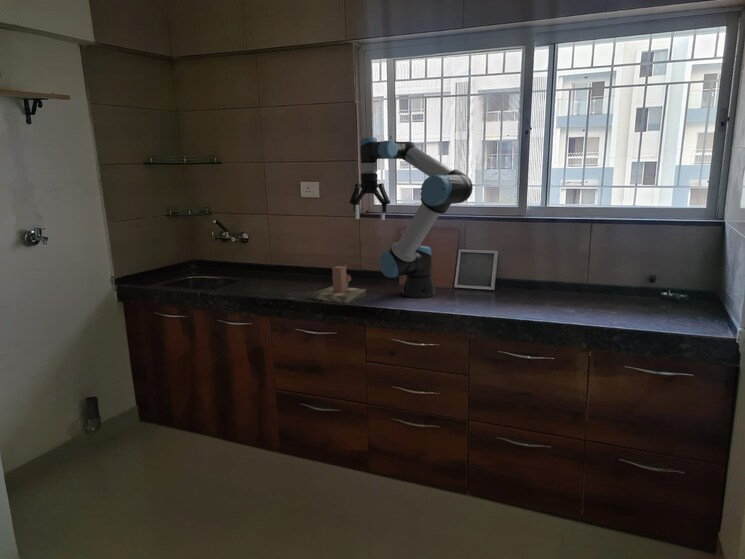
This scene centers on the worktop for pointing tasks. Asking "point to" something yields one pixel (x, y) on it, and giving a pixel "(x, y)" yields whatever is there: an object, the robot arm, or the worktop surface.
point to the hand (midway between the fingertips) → (369, 219)
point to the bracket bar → (339, 279)
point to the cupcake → (347, 278)
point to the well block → (339, 295)
